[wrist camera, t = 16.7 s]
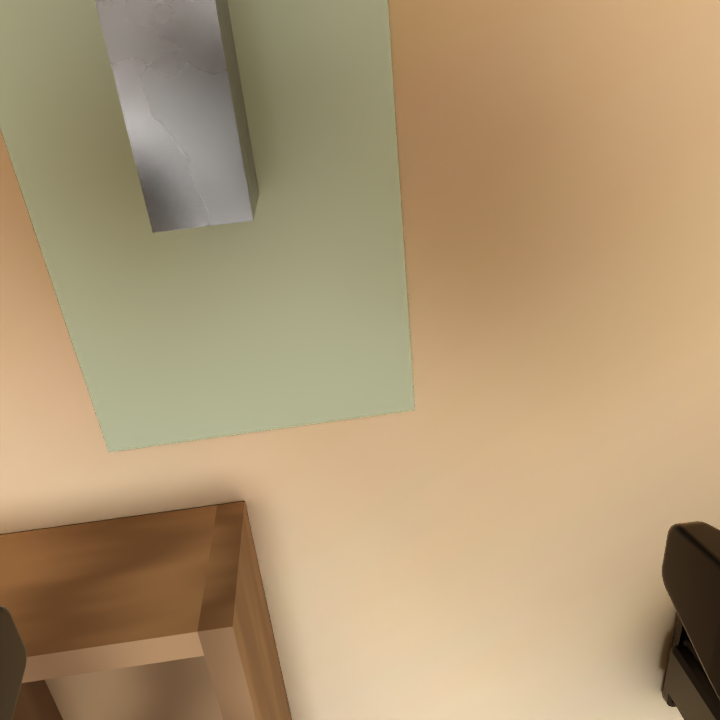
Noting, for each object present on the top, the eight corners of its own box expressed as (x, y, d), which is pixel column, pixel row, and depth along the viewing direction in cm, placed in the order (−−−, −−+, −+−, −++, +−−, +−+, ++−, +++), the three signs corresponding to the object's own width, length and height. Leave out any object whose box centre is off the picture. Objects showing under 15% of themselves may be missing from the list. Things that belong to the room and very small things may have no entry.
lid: (335, -697, 12) (356, -1056, 8) (410, 399, 22) (435, 467, 19) (-248, -670, 11) (-521, -1040, 7) (114, 439, 22) (78, 518, 18)
